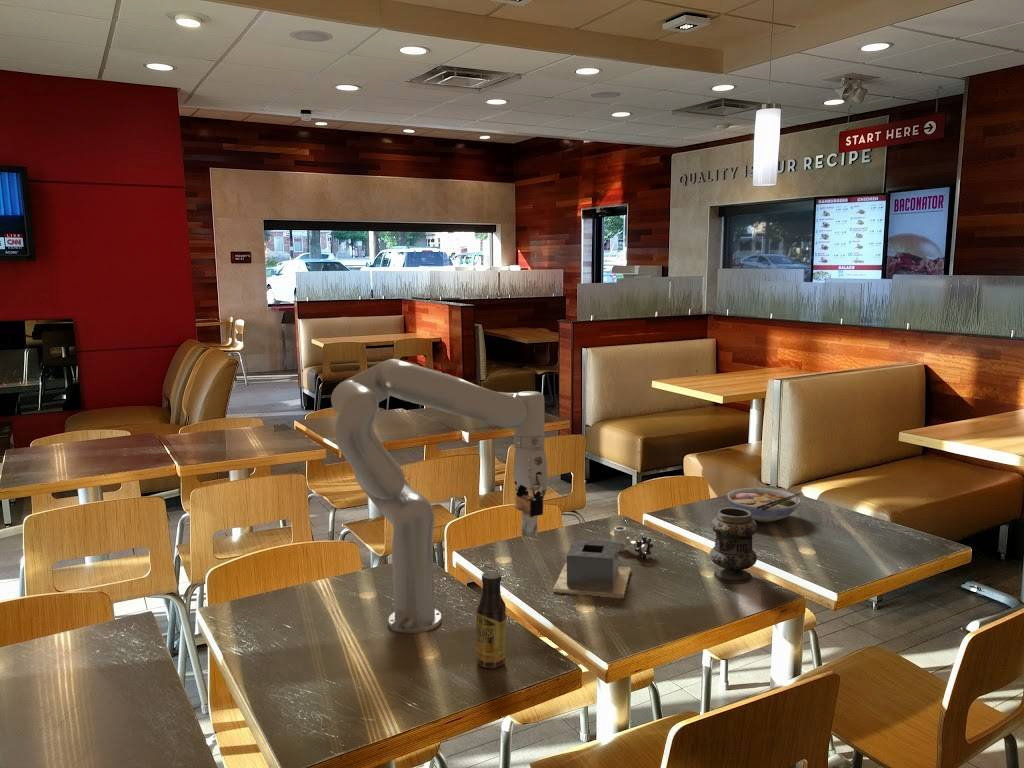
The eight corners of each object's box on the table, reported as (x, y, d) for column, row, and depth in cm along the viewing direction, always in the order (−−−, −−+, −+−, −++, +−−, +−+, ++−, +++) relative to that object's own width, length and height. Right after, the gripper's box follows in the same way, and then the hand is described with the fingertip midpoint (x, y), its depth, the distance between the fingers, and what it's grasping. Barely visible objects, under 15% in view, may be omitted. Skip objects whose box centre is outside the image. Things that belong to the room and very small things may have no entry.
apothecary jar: (759, 571, 212) (761, 507, 210) (752, 588, 201) (754, 521, 199) (714, 565, 217) (715, 502, 215) (705, 581, 206) (706, 515, 204)
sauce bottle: (470, 663, 166) (467, 574, 163) (491, 652, 170) (489, 565, 167) (491, 674, 161) (489, 582, 159) (513, 663, 166) (511, 573, 163)
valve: (607, 550, 230) (637, 562, 221) (607, 528, 229) (637, 539, 220) (623, 545, 234) (653, 556, 225) (623, 524, 233) (653, 534, 224)
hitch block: (623, 598, 197) (623, 563, 195) (553, 592, 201) (552, 558, 200) (630, 571, 214) (630, 539, 213) (565, 566, 218) (565, 535, 217)
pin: (540, 539, 192) (540, 502, 191) (512, 537, 194) (512, 500, 193) (545, 530, 199) (545, 494, 198) (519, 528, 201) (519, 492, 200)
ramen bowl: (754, 503, 272) (754, 480, 271) (815, 519, 255) (816, 494, 254) (710, 519, 257) (710, 495, 255) (772, 536, 239) (773, 511, 238)
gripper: (559, 446, 187) (559, 518, 190) (526, 433, 203) (526, 500, 205) (532, 450, 184) (532, 523, 186) (500, 436, 199) (501, 504, 202)
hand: (529, 510), depth 196 cm, fingers closed on pin, 7 cm apart
